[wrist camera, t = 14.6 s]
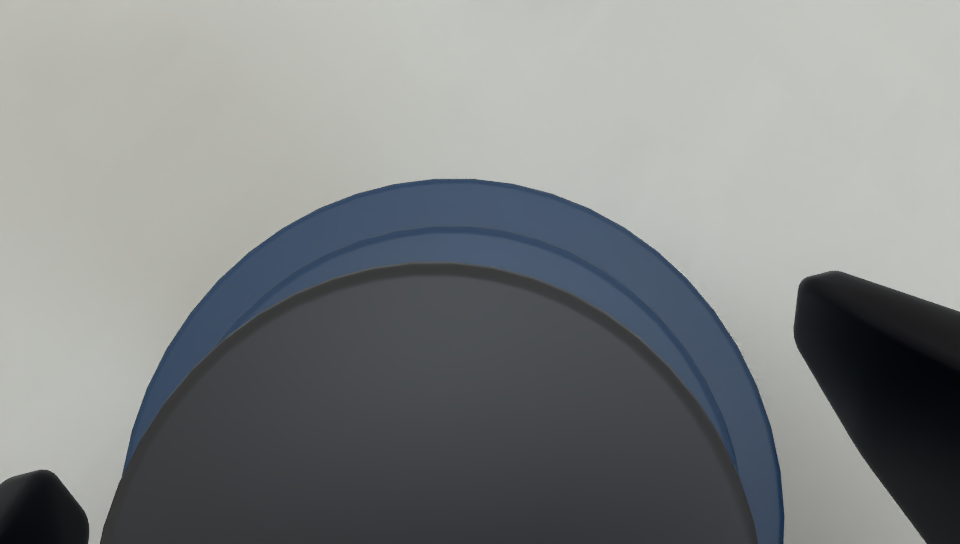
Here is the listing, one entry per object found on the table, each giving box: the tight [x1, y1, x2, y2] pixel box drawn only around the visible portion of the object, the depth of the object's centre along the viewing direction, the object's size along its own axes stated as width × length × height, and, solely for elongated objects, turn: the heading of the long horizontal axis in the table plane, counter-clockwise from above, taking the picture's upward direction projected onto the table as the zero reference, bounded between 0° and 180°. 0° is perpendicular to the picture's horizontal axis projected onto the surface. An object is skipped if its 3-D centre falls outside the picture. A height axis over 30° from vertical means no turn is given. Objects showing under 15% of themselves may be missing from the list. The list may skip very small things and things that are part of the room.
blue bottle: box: [100, 179, 784, 544], centre depth 9 cm, size 5×5×13 cm
